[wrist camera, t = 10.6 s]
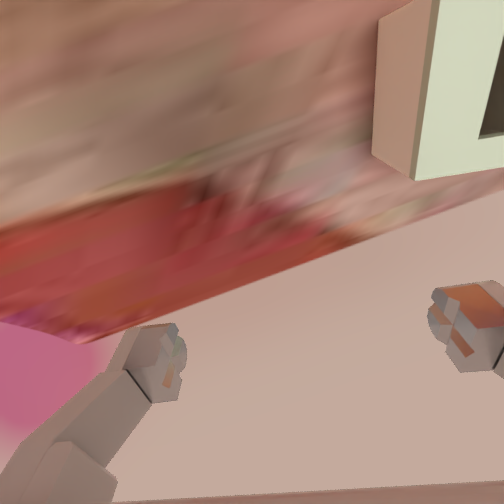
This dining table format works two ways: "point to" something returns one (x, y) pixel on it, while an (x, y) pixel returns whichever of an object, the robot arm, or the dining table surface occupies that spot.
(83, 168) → the dining table surface
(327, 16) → the dining table surface
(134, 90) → the dining table surface
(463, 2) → the box
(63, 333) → the dining table surface
